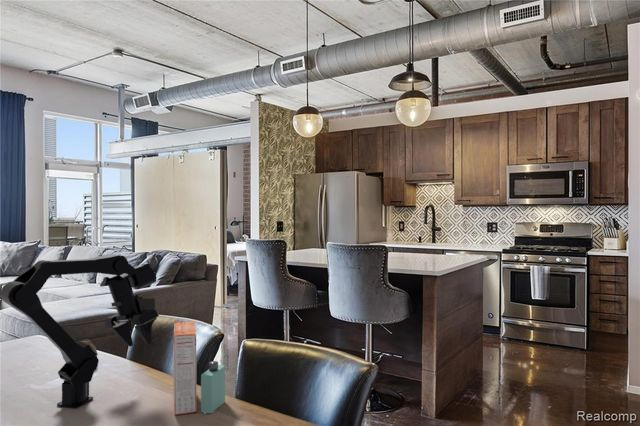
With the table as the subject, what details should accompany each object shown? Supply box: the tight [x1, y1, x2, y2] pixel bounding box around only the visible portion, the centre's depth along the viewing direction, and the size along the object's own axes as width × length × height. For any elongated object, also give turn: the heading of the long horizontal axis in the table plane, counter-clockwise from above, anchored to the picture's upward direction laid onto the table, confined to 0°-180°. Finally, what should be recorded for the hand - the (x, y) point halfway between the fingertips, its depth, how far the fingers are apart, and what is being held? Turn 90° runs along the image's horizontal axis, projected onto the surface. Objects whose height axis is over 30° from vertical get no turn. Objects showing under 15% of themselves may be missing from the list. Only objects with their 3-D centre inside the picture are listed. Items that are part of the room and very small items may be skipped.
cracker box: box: [172, 321, 198, 416], centre depth 128 cm, size 14×6×21 cm, turn 16°
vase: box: [81, 339, 98, 357], centre depth 157 cm, size 7×7×9 cm
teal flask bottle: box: [200, 360, 226, 414], centre depth 126 cm, size 8×3×12 cm, turn 166°
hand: (140, 345), depth 139 cm, fingers open, 9 cm apart
